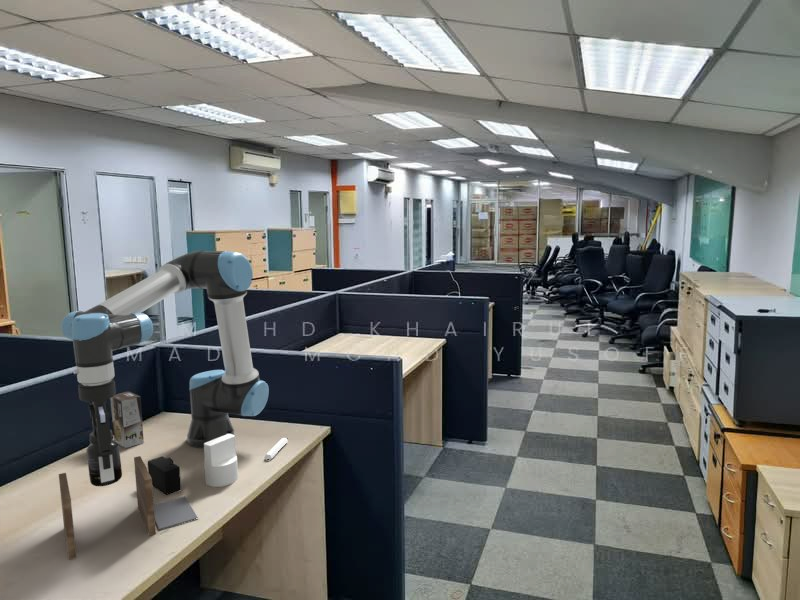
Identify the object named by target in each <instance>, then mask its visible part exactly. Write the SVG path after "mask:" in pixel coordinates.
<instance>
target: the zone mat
mask: <svg viewBox="0 0 800 600" xmlns="http://www.w3.org/2000/svg"><path fill="white" fill-rule="evenodd" d="M154 515H155V525H156V526H157V528H158V530H159V531H163V530H166V529H169V528H172V527H176V526H179V524H180V525H182V523H183V524H185V523H184V522H186V523H189V522H188V521H190V522H192V521H191V520H193V521H195V520H194V519H196V518H198V519H199V517H198V515H197V514H196V512H195V511H194V509H193V507H192V505H191V504H190V502H189V500H188V499H187V497H186V496H185V495H184V496H180V497H176V498H173V499H170V500H166V501H161V502H158V503H155V504H154ZM196 520H197V519H196Z"/></svg>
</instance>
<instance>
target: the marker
mask: <svg viewBox="0 0 800 600" xmlns="http://www.w3.org/2000/svg"><path fill="white" fill-rule="evenodd" d="M288 442H289V439H288V437H282V438H281V439H280V440H279V441H278V442H277V443H276V444H275V445H274V446H273V447H272V448H271V449H270V450H268V452H267V453H266V454H265V455H264V459H265V460H266V459H269V460H268V461H271V460H273V458H274V457H275V456H276V455H277V454H278V453H279V452H280V451H281V450H282V449H283V448H284V447H285V446H286V445H285V444H286V443H288ZM284 445H285V446H284ZM283 446H284V447H283ZM282 447H283V448H282ZM281 448H282V449H281ZM280 449H281V450H280ZM279 450H280V451H279ZM278 451H279V452H278Z"/></svg>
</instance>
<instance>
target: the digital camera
mask: <svg viewBox="0 0 800 600" xmlns="http://www.w3.org/2000/svg"><path fill="white" fill-rule="evenodd" d="M147 468H148V469H147V470H148V472H149V474H150V476H151V478H152V488H154V489H156V490H157V491H159V492H160V493H161V494H164V495H165V496H166V497H167V496H169V495H173V494H175V493H177V492H180V491H181V490H182V485H181V470H180V466H179V465H178V464H175V462H174V460H173V458H171V457H164V456H160V457H157V458H153V459H150V460H148V461H147Z"/></svg>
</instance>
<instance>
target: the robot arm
mask: <svg viewBox="0 0 800 600" xmlns="http://www.w3.org/2000/svg"><path fill="white" fill-rule="evenodd" d="M253 273H254V272H253V268H252V265H251V263H250V261H249V259H248V257H246V256H244V254H243V253H240V252H236V251H231V250H230V251H229V250H195V251H190V252H188V253H185V254H182V255H181V256H178V257H176V258H174V259H172V260H170V261H167V262H166V263H164V264H162V265H161V266H160V267H159V269H158V271H157V272H155V273H153V274H151V275H150V276H148V277H146V278H144V279H143V280H141V281H138V282H137V283H135V284H133V285H131V286H130V287H127V288H126V289H124V290H123V291H122V290H121V292H118V293H117V294H115V295H113V296H111V297H110V298H108V299H106V300H104V301H102V302H100V303H98V304H97V305H95V306H93V307H92V308H90V309H87V310H84V311H83V310H78V311H77V310H76V311H71V312H69V313H68V314H66V315H65V316H64V317H63V319H62V322H61V331H62V334H63V336H65V338H67V339H68V340H69V341H72V344H73V345H72V346H73V353H74V361H75V368H76V369H74V370H73V371H72V372H73V375H76V378H77V382H78V385H77V388H78V389H77V391H78V398H79V400H80V401H82V402H83V403H84V402H85V403H89V404H88V411H89V412H88V413H89V414H90V420H91V425H92V432H94V431H96V433H97V440H98V448H99V454H97V455H96V458H97V457H99V466H100V476H101V483H102V482H106V481H110V480H114V470H113V459H112V454H113V450H112V443H111V434H110V430H111V428H110V426H111V425H110V424H111V420H110V411H111V407H110V405H109V403H108V401H107V400H108V399H110V398H112V397H113V396H114V395H117V394H116V393H117V389H116V380H115V379H114V377H115V367H114V359H113V352H115V351H117V350H120V349H125V348H128V347H132V346H135V345H140V344H142V343H144V342H146V341H148V340H150V339H151V337H152V336H153V333H154V324H153V322H152V319H151V318H150V317H149V315H147V314H145V313H144V312H145V311H146V310H147V309H150V308H151V307H153V306H155V305H156V304H158V303H159V302H161V301H163V300H164V299H166V298H168V297H169V296H171V295H173V294H175V295H176V294H181V293H183V292H184V291H186V290H190V289H191V290H192V289H202V290H203V289H204V290H206V293H207V298H208V299H209V301H212V302H213V304H214V310H215V315H216V321H217V328H218V334H219V341H220V345H221V346H220V347H221V352H222V359H223V365H224V370H223V369H213V370H207V371H203V372H199V373H196V374H194V375H193V376H191V377H190V379H189V389H188V390H189V401H190V411H191V414H190V415H191V420H190V424H189V427H188V431H187V435H186V438H187V444H188V445H189V446H191V447H194V448H198V449H199V448H203V449H204V443H206V442H208V441H211V440H214V439H216V438H219V437H221V436H224V435H226V434H233V435H235V429H234V426H233V423H232V421H231V419H230V417H229V414H231V415H238V416H242V417H256V416H257V415H259V414H260V413H261V412H262V411H263V410H264V408H265V407H266V405H267V402H268V398H269V390H270V389H269V385H268V383H266V381H264V380H262V379H260V374H259V373H260V372H259V370H258V369H256V368H255V367H254V365H253V359H252V353H251V344H250V338H249V331H248V324H247V318H246V311H245V304H244V297H245V296H247V294H248V289H249V288H250V287H251V285H252V282H253V281H252V280H253V277H254V275H253Z"/></svg>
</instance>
